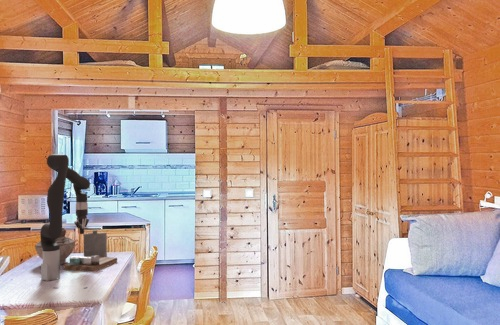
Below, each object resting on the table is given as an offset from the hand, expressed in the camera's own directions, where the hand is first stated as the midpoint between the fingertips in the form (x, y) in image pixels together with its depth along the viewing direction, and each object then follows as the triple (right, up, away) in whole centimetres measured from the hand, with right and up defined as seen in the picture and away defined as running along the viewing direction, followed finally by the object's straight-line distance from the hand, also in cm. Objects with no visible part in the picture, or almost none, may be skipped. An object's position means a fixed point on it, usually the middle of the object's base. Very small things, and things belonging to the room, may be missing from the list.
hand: (81, 233), depth 271 cm
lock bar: (+6, -18, -8) cm, 21 cm away
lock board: (+7, -21, -2) cm, 22 cm away
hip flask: (0, -22, +23) cm, 32 cm away
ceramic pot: (-21, -22, +5) cm, 30 cm away
